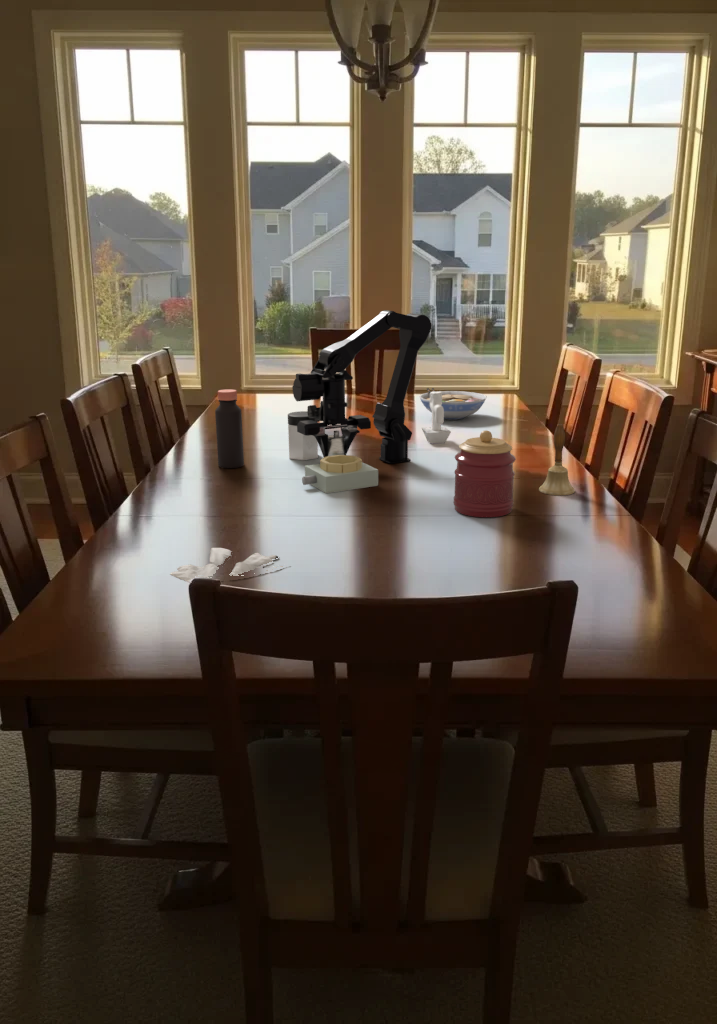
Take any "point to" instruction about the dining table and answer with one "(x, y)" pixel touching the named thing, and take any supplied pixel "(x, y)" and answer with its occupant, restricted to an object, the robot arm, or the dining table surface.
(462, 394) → the ramen bowl
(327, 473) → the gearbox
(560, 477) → the hand bell
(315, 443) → the jar
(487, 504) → the canister
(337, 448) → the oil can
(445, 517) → the dining table surface
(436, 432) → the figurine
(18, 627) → the dining table surface
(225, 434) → the bottle
